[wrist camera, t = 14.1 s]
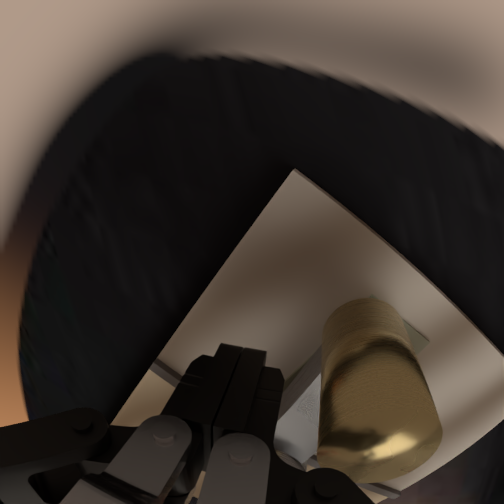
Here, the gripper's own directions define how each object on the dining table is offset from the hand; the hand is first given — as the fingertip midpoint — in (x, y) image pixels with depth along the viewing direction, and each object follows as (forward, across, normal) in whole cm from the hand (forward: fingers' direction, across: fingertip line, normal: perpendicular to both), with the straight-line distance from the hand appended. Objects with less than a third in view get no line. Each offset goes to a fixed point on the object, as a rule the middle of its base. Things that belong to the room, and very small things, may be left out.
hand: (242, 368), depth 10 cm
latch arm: (+2, -3, +3) cm, 5 cm away
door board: (+4, -3, +8) cm, 9 cm away
